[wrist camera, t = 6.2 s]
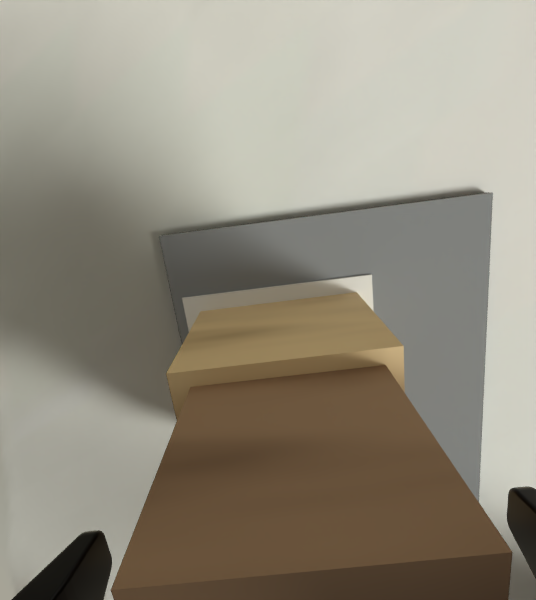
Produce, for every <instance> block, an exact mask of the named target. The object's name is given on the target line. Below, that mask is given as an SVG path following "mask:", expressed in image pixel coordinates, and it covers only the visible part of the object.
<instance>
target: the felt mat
mask: <svg viewBox="0 0 536 600" xmlns="http://www.w3.org/2000/svg"><path fill="white" fill-rule="evenodd" d="M492 199H493V193H480V194H472V195H464V196H457V197H449V198H442V199H434V200H426V201H419V202H411V203H403V204H396V205H388V206H380V207H373V208H365V209H357V210H350V211H342V212H335V213H327V214H319V215H312V216H304V217H296V218H289V219H281V220H273V221H266V222H258V223H250V224H243V225H235V226H228V227H220V228H212V229H205V230H197V231H189V232H182V233H174V234H166V235H161V236H159V238H160V243H161V248H162V252H163V257H164V262H165V266H166V271H167V276H168V281H169V285H170V290H171V295H172V300H173V304H174V309H175V314H176V318H177V323H178V328H179V333H180V337H181V342H182V344H183V342H184V340H185V339H186V337H187V335H188V333H189V331H190V329H191V328H192V326H193V324H194V322H195V320H196V319H197V317H198V315H199V313H200V311H208V310H216V309H224V308H232V307H240V306H248V305H256V304H264V303H273V302H281V301H289V300H297V299H305V298H313V297H321V296H330V295H338V294H346V293H354V292H357V293H358V294H359V295H360V297H361V298H362V299H363V300H364V301H365V302H366V303H367V305H368V306H369V307H370V308H371V309H372V310H373V311H374V313H375V314H376V315H377V316H378V317H379V318H380V319H381V321H382V322H383V323H384V324H385V325H386V326H387V327H388V329H389V330H390V331H391V332H392V333H393V334H394V335H395V337H396V338H397V339H398V340H399V341H400V342H401V344H402V345H403V346H404V383H405V394H406V396H407V397H408V399H409V400H410V402H411V403H412V405H413V406H414V407H415V409H416V410H417V412H418V413H419V415H420V416H421V418H422V419H423V421H424V422H425V424H426V425H427V427H428V428H429V430H430V431H431V433H432V434H433V436H434V437H435V439H436V440H437V442H438V443H439V444H440V446H441V447H442V449H443V450H444V452H445V453H446V455H447V456H448V458H449V459H450V461H451V462H452V464H453V465H454V467H455V468H456V470H457V471H458V473H459V474H460V476H461V477H462V479H463V480H464V481H465V483H466V484H467V486H468V487H469V489H470V490H471V492H472V493H473V495H474V496H475V498H476V499H477V501H478V502H479V483H480V462H481V440H482V418H483V396H484V374H485V352H486V330H487V308H488V287H489V265H490V243H491V221H492Z"/></svg>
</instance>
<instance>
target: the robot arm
mask: <svg viewBox="0 0 536 600" xmlns="http://www.w3.org/2000/svg"><path fill="white" fill-rule="evenodd" d="M507 522H508V525H509V528H510V530H511V532H512V534H513V536H514V538H515V540H516V542H517V544H518V546H519V548H520V549H521V551H522V553H523V555H524V557H525V559H526V561H527V563H528V565H529V567H530V569H531V570H532V572H533V574H534V576H535V578H536V489H534V488H532V487H517V488H512V489H510V491H509V494H508V508H507ZM111 567H112V557H111V554H110V551H109V548H108V545H107V542H106V539H105V536H104V533H103V532H102V531H99V530H98V531H89V532H84V533H82V534H80V535H79V536H78V537H77V538H76V539H75V540H74V541H73V542H72V543H71V544H70V545H69V546H68V547H67V548H65V549H64V550H63V551H62V552H61V553H60V554H59V555H58V556H57V557H56V558H55V559H54V560H53V561H52V562H51V563H50V564H49V565H48V566H47V567H45V568H44V569H43V570H42V571H41V572H40V573H39V574H38V575H37V576H36V577H35V578H34V579H33V580H32V581H31V582H30V583H29V584H28V585H26V586H25V587H24V588H23V589H22V590H21V591H20V592H19V593H18V594H17V595H16V596H15V597H14V598H13V599H12V600H104V596H105V592H106V588H107V584H108V580H109V576H110V572H111Z"/></svg>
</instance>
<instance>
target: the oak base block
mask: <svg viewBox="0 0 536 600" xmlns="http://www.w3.org/2000/svg"><path fill="white" fill-rule="evenodd" d="M380 365H386V366H387V368H388V369H389V371H390V372H391V373H392V375H393V376H394V378H395V379H396V381H397V382H398V384H399V385H400V387H401V388H402V390H403V391H404V393H405V383H404V346H403V345H402V344H401V342H400V341H399V340H398V339H397V338H396V337H395V335H394V334H393V333H392V332H391V331H390V330H389V329H388V327H387V326H386V325H385V324H384V323H383V322H382V321H381V319H380V318H379V317H378V316H377V315H376V314H375V313H374V311H373V310H372V309H371V308H370V307H369V306H368V305H367V303H366V302H365V301H364V300H363V299H362V298H361V297H360V295H359V294H358V293H357V292H354V293H346V294H338V295H330V296H321V297H313V298H305V299H297V300H289V301H281V302H273V303H264V304H256V305H248V306H240V307H232V308H224V309H216V310H208V311H200V313H199V315H198V317H197V319H196V320H195V322H194V324H193V326H192V328H191V329H190V331H189V333H188V335H187V337H186V339H185V340H184V342H183V344H182V346H181V348H180V349H179V351H178V353H177V355H176V357H175V358H174V360H173V362H172V364H171V366H170V368H169V369H168V371H167V373H166V376H167V380H168V384H169V389H170V393H171V397H172V402H173V406H174V410H175V415H176V419H177V420H178V417H179V415H180V412H181V410H182V407H183V404H184V402H185V399H186V397H187V394H188V392H189V389H190V387H195V386H203V385H212V384H221V383H230V382H239V381H248V380H256V379H265V378H274V377H283V376H292V375H301V374H309V373H318V372H327V371H336V370H345V369H354V368H362V367H371V366H380Z"/></svg>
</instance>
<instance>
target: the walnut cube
mask: <svg viewBox="0 0 536 600" xmlns="http://www.w3.org/2000/svg"><path fill="white" fill-rule="evenodd" d="M511 562H512V551H511V550H510V548H509V547H508V545H507V544H506V542H505V541H504V539H503V538H502V536H501V535H500V533H499V532H498V530H497V529H496V527H495V526H494V524H493V523H492V521H491V520H490V518H489V517H488V516H487V514H486V513H485V511H484V510H483V508H482V507H481V505H480V504H479V502H478V501H477V499H476V498H475V496H474V495H473V493H472V492H471V490H470V489H469V487H468V486H467V484H466V483H465V481H464V480H463V479H462V477H461V476H460V474H459V473H458V471H457V470H456V468H455V467H454V465H453V464H452V462H451V461H450V459H449V458H448V456H447V455H446V453H445V452H444V450H443V449H442V447H441V446H440V444H439V443H438V442H437V440H436V439H435V437H434V436H433V434H432V433H431V431H430V430H429V428H428V427H427V425H426V424H425V422H424V421H423V419H422V418H421V416H420V415H419V413H418V412H417V410H416V409H415V407H414V406H413V405H412V403H411V402H410V400H409V399H408V397H407V396H406V394H405V393H404V391H403V390H402V388H401V387H400V385H399V384H398V382H397V381H396V379H395V378H394V376H393V375H392V373H391V372H390V371H389V369H388V368H387V366H386V365H380V366H371V367H362V368H354V369H345V370H336V371H327V372H318V373H309V374H301V375H292V376H283V377H274V378H265V379H256V380H248V381H239V382H230V383H221V384H212V385H203V386H195V387H190V389H189V392H188V394H187V397H186V399H185V402H184V404H183V407H182V410H181V412H180V415H179V417H178V420H177V422H176V425H175V427H174V430H173V433H172V435H171V438H170V440H169V443H168V445H167V448H166V450H165V453H164V456H163V458H162V461H161V463H160V466H159V468H158V471H157V473H156V476H155V479H154V481H153V484H152V486H151V489H150V491H149V494H148V496H147V499H146V502H145V504H144V507H143V509H142V512H141V514H140V517H139V519H138V522H137V525H136V527H135V530H134V532H133V535H132V537H131V540H130V542H129V545H128V548H127V550H126V553H125V555H124V558H123V560H122V563H121V566H120V568H119V571H118V573H117V576H116V578H115V581H114V583H113V586H112V589H111V592H112V595H113V598H114V600H508V596H509V585H510V573H511Z"/></svg>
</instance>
